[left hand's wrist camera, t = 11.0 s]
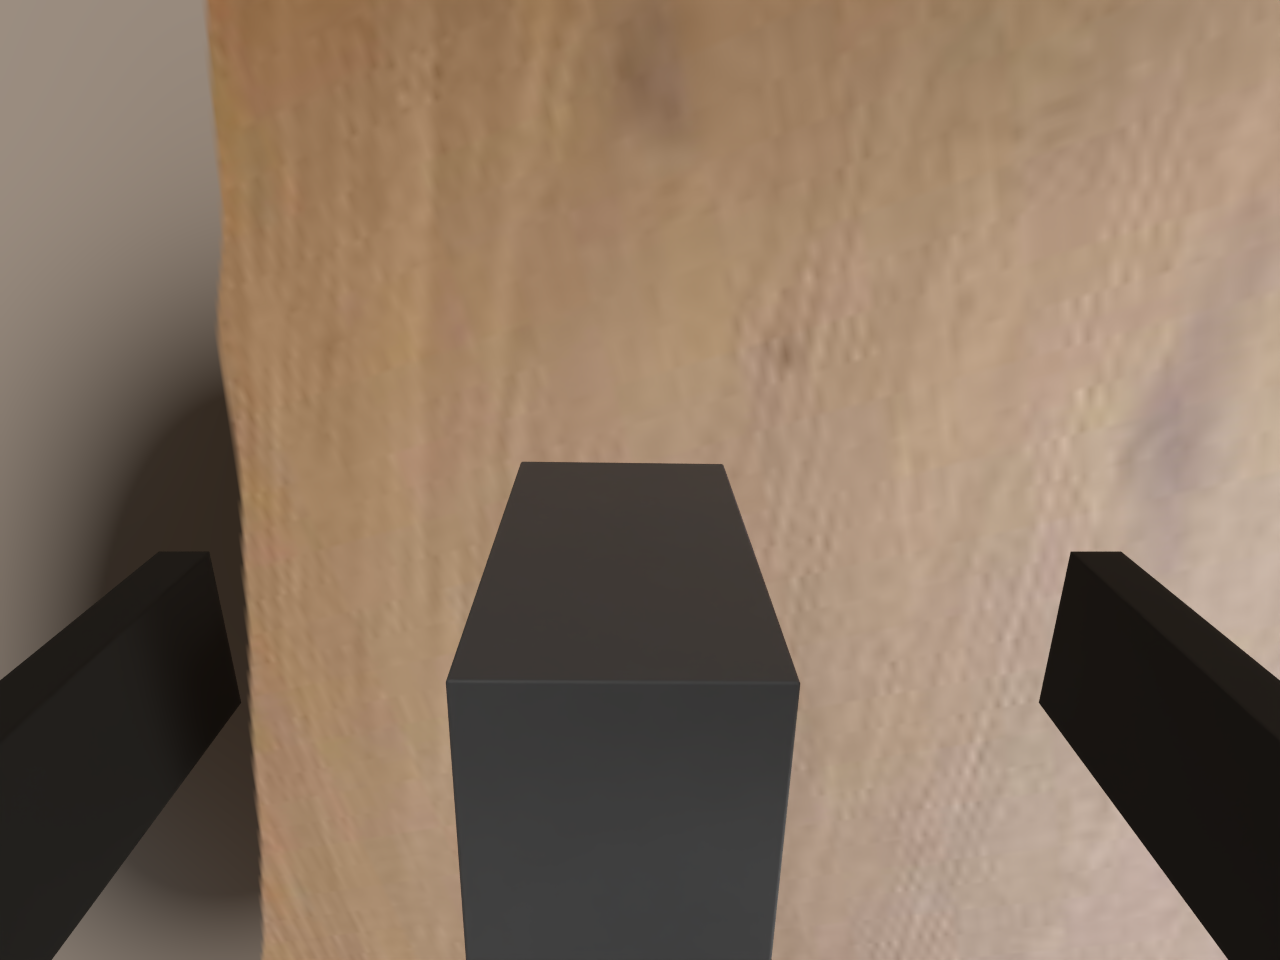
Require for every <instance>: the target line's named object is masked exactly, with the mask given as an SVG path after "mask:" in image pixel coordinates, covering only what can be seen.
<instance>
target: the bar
mask: <svg viewBox="0 0 1280 960" xmlns="http://www.w3.org/2000/svg"><path fill="white" fill-rule="evenodd" d="M446 690H447V704H448V718H449V732H450V745H451V759H452V773H453V786H454V800H455V814H456V828H457V841H458V855H459V869H460V882H461V896H462V910H463V924H464V937H465V951H466V960H771V957H772V948H773V938H774V928H775V919H776V909H777V900H778V890H779V881H780V871H781V862H782V852H783V843H784V833H785V824H786V814H787V805H788V795H789V786H790V776H791V767H792V757H793V748H794V738H795V729H796V719H797V710H798V700H799V691H800V682H799V679H798V676H797V673H796V670H795V667H794V665H793V662H792V659H791V656H790V653H789V650H788V648H787V645H786V642H785V639H784V636H783V633H782V631H781V628H780V625H779V622H778V619H777V616H776V614H775V611H774V608H773V605H772V602H771V599H770V596H769V594H768V591H767V588H766V585H765V582H764V579H763V577H762V574H761V571H760V568H759V565H758V562H757V560H756V557H755V554H754V551H753V548H752V545H751V542H750V540H749V537H748V534H747V531H746V528H745V525H744V523H743V520H742V517H741V514H740V511H739V508H738V506H737V503H736V500H735V497H734V494H733V491H732V488H731V486H730V483H729V480H728V477H727V474H726V471H725V469H724V466H723V465H722V464H661V463H580V462H521V464H520V467H519V470H518V473H517V476H516V479H515V482H514V485H513V488H512V491H511V494H510V497H509V499H508V502H507V505H506V508H505V511H504V514H503V517H502V520H501V523H500V526H499V529H498V532H497V534H496V537H495V540H494V543H493V546H492V549H491V552H490V555H489V558H488V561H487V564H486V567H485V569H484V572H483V575H482V578H481V581H480V584H479V587H478V590H477V593H476V596H475V599H474V602H473V604H472V607H471V610H470V613H469V616H468V619H467V622H466V625H465V628H464V631H463V634H462V637H461V639H460V642H459V645H458V648H457V651H456V654H455V657H454V660H453V663H452V666H451V669H450V672H449V674H448V677H447V680H446Z"/></svg>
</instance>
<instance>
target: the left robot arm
mask: <svg viewBox="0 0 1280 960" xmlns="http://www.w3.org/2000/svg"><path fill="white" fill-rule="evenodd" d="M240 703H241V700H240V695H239V690H238V686H237V681H236V676H235V671H234V667H233V662H232V657H231V652H230V648H229V643H228V638H227V633H226V629H225V624H224V619H223V615H222V610H221V605H220V600H219V596H218V591H217V586H216V582H215V577H214V572H213V567H212V563H211V558H210V553H209V552H158V553H157V554H155V555H154V556H153V557H152V558H151V559H149V560H148V561H147V562H146V563H144V564H143V565H142V566H141V567H139V568H138V569H137V570H136V571H135V572H133V573H132V574H131V575H130V576H128V577H127V578H126V579H125V580H123V581H122V582H121V583H120V584H119V585H117V586H116V587H115V588H114V589H112V590H111V591H110V592H109V593H107V594H106V595H105V596H104V597H103V598H101V599H100V600H99V601H98V602H96V603H95V604H94V605H93V606H91V607H90V608H89V609H88V610H86V611H85V612H84V613H83V614H82V615H80V616H79V617H78V618H77V619H75V620H74V621H73V622H72V623H71V624H69V625H68V626H67V627H66V628H64V629H63V630H62V631H61V632H59V633H58V634H57V635H56V636H55V637H53V638H52V639H51V640H50V641H48V642H47V643H46V644H45V645H43V646H42V647H41V648H40V649H38V650H37V651H36V652H35V653H34V654H32V655H31V656H30V657H29V658H27V659H26V660H25V661H24V662H22V663H21V664H20V665H19V666H17V667H16V668H15V669H14V670H13V671H11V672H10V673H9V674H8V675H6V676H5V677H4V678H3V679H1V680H0V960H52V959H53V957H54V956H55V954H56V953H57V952H58V950H59V949H60V948H61V946H62V945H63V944H64V942H65V941H66V940H67V938H68V937H69V935H70V934H71V933H72V931H73V930H74V929H75V927H76V926H77V925H78V923H79V922H80V921H81V919H82V918H83V916H84V915H85V914H86V912H87V911H88V910H89V908H90V907H91V906H92V904H93V903H94V902H95V900H96V899H97V897H98V896H99V895H100V893H101V892H102V891H103V889H104V888H105V887H106V885H107V884H108V883H109V881H110V880H111V878H112V877H113V876H114V874H115V873H116V872H117V870H118V869H119V868H120V866H121V865H122V864H123V862H124V861H125V859H126V858H127V857H128V855H129V854H130V853H131V851H132V850H133V849H134V847H135V846H136V845H137V843H138V842H139V840H140V839H141V838H142V836H143V835H144V834H145V832H146V831H147V830H148V828H149V827H150V826H151V824H152V823H153V821H154V820H155V819H156V817H157V816H158V815H159V813H160V812H161V811H162V809H163V808H164V807H165V805H166V804H167V802H168V801H169V800H170V798H171V797H172V796H173V794H174V793H175V792H176V790H177V789H178V788H179V786H180V785H181V783H182V782H183V781H184V779H185V778H186V777H187V775H188V774H189V773H190V771H191V770H192V769H193V767H194V766H195V764H196V763H197V762H198V760H199V759H200V758H201V756H202V755H203V754H204V752H205V751H206V749H207V748H208V747H209V745H210V744H211V743H212V741H213V740H214V739H215V737H216V736H217V735H218V733H219V732H220V730H221V729H222V728H223V726H224V725H225V724H226V722H227V721H228V720H229V718H230V717H231V716H232V714H233V713H234V712H235V710H236V709H237V707H238V706H239V705H240ZM1039 703H1040V705H1041V706H1042V707H1043V709H1044V710H1045V712H1046V713H1047V714H1048V716H1049V717H1050V718H1051V720H1052V721H1053V722H1054V724H1055V725H1056V726H1057V728H1058V729H1059V731H1060V732H1061V733H1062V735H1063V736H1064V737H1065V739H1066V740H1067V741H1068V743H1069V744H1070V745H1071V747H1072V748H1073V750H1074V751H1075V752H1076V754H1077V755H1078V756H1079V758H1080V759H1081V760H1082V762H1083V763H1084V764H1085V766H1086V767H1087V769H1088V770H1089V771H1090V773H1091V774H1092V775H1093V777H1094V778H1095V779H1096V781H1097V782H1098V783H1099V785H1100V786H1101V788H1102V789H1103V790H1104V792H1105V793H1106V794H1107V796H1108V797H1109V798H1110V800H1111V801H1112V802H1113V804H1114V805H1115V807H1116V808H1117V809H1118V811H1119V812H1120V813H1121V815H1122V816H1123V817H1124V819H1125V820H1126V821H1127V823H1128V824H1129V826H1130V827H1131V828H1132V830H1133V831H1134V832H1135V834H1136V835H1137V836H1138V838H1139V839H1140V840H1141V842H1142V843H1143V845H1144V846H1145V847H1146V849H1147V850H1148V851H1149V853H1150V854H1151V855H1152V857H1153V858H1154V859H1155V861H1156V862H1157V864H1158V865H1159V866H1160V868H1161V869H1162V870H1163V872H1164V873H1165V874H1166V876H1167V877H1168V878H1169V880H1170V881H1171V883H1172V884H1173V885H1174V887H1175V888H1176V889H1177V891H1178V892H1179V893H1180V895H1181V896H1182V897H1183V899H1184V900H1185V902H1186V903H1187V904H1188V906H1189V907H1190V908H1191V910H1192V911H1193V912H1194V914H1195V915H1196V916H1197V918H1198V919H1199V921H1200V922H1201V923H1202V925H1203V926H1204V927H1205V929H1206V930H1207V931H1208V933H1209V934H1210V935H1211V937H1212V938H1213V940H1214V941H1215V942H1216V944H1217V945H1218V946H1219V948H1220V949H1221V950H1222V952H1223V953H1224V954H1225V956H1226V957H1227V959H1228V960H1280V680H1279V679H1277V678H1276V677H1275V676H1274V675H1272V674H1271V673H1270V672H1269V671H1267V670H1266V669H1265V668H1264V667H1263V666H1261V665H1260V664H1259V663H1258V662H1256V661H1255V660H1254V659H1253V658H1251V657H1250V656H1249V655H1248V654H1246V653H1245V652H1244V651H1243V650H1242V649H1240V648H1239V647H1238V646H1237V645H1235V644H1234V643H1233V642H1232V641H1230V640H1229V639H1228V638H1227V637H1226V636H1224V635H1223V634H1222V633H1221V632H1219V631H1218V630H1217V629H1216V628H1214V627H1213V626H1212V625H1211V624H1210V623H1208V622H1207V621H1206V620H1205V619H1203V618H1202V617H1201V616H1200V615H1198V614H1197V613H1196V612H1195V611H1194V610H1192V609H1191V608H1190V607H1189V606H1187V605H1186V604H1185V603H1184V602H1182V601H1181V600H1180V599H1179V598H1178V597H1176V596H1175V595H1174V594H1173V593H1171V592H1170V591H1169V590H1168V589H1166V588H1165V587H1164V586H1163V585H1162V584H1160V583H1159V582H1158V581H1157V580H1155V579H1154V578H1153V577H1152V576H1150V575H1149V574H1148V573H1147V572H1145V571H1144V570H1143V569H1142V568H1141V567H1139V566H1138V565H1137V564H1136V563H1134V562H1133V561H1132V560H1131V559H1129V558H1128V557H1127V556H1126V555H1125V554H1123V553H1122V552H1071V553H1070V558H1069V563H1068V567H1067V572H1066V577H1065V581H1064V586H1063V591H1062V596H1061V600H1060V605H1059V610H1058V615H1057V619H1056V624H1055V629H1054V633H1053V638H1052V643H1051V648H1050V652H1049V657H1048V662H1047V667H1046V671H1045V676H1044V681H1043V686H1042V690H1041V695H1040V700H1039Z"/></svg>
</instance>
